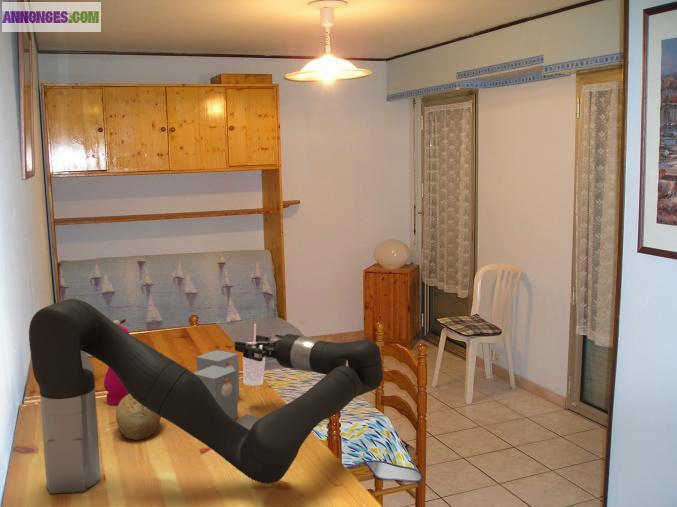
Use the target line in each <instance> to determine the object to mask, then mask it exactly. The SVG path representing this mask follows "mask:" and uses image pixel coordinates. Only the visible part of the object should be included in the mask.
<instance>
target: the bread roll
mask: <svg viewBox="0 0 677 507" xmlns="http://www.w3.org/2000/svg"><path fill="white" fill-rule="evenodd" d="M115 418H116V422H117V426H118V428H119V430H120V431H121V433H122V434H123V435H124V437H126V438H127V439H131V440H133V441H140V440H143V439H146V438H148V437H149V436H151V435H152V434H153V433H154V432H155V430H156V429H157V428H158V426H159V424H160V421H161V418H162V417H161V416H159V415H157V414H156V413H154V412H153V411H151V410H149V409H148V408H146V407H144V406H143V405H141V404H140V403H139V402H137V401H136V400H135V399H134V398H133V397H132V396H131V395H130V394H128V395H126V396H125V397H124V398H123V399H122V400H121V401H120V403H119V405H117V407H116V410H115Z"/></svg>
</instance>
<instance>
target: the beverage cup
mask: <svg viewBox="0 0 677 507" xmlns="http://www.w3.org/2000/svg"><path fill="white" fill-rule="evenodd" d="M256 335H257V323H254V324H253V341H252V342H251V341H250V342H246V343H254V344H256V343H257V342H256ZM262 346H263V345H260V349H262ZM254 348H255V347H254ZM265 366H266V358H263V361H260V362H259V361H256V360H252V359H248V358H245V357H243V356H242V381H243V384H244V385H246V386H254V387H255V386H261V385H263V384H264V378H265Z"/></svg>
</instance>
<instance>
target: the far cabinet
mask: <svg viewBox="0 0 677 507" xmlns="http://www.w3.org/2000/svg"><path fill="white" fill-rule="evenodd" d="M213 365H214V366H218V367H223V368H228V369H233V370H236V374H237V400H238V399H240V374H239V373H240V372H239V371H240V369H239V354H238V353H233V352H231V351H230V352H229V351H224V350H219V349H216V350H213V351H210V352H207V353H204V354H201V355H198V356H196V372H197V371H199V370H202V369H205V368H208V367H210V366H213Z"/></svg>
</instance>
